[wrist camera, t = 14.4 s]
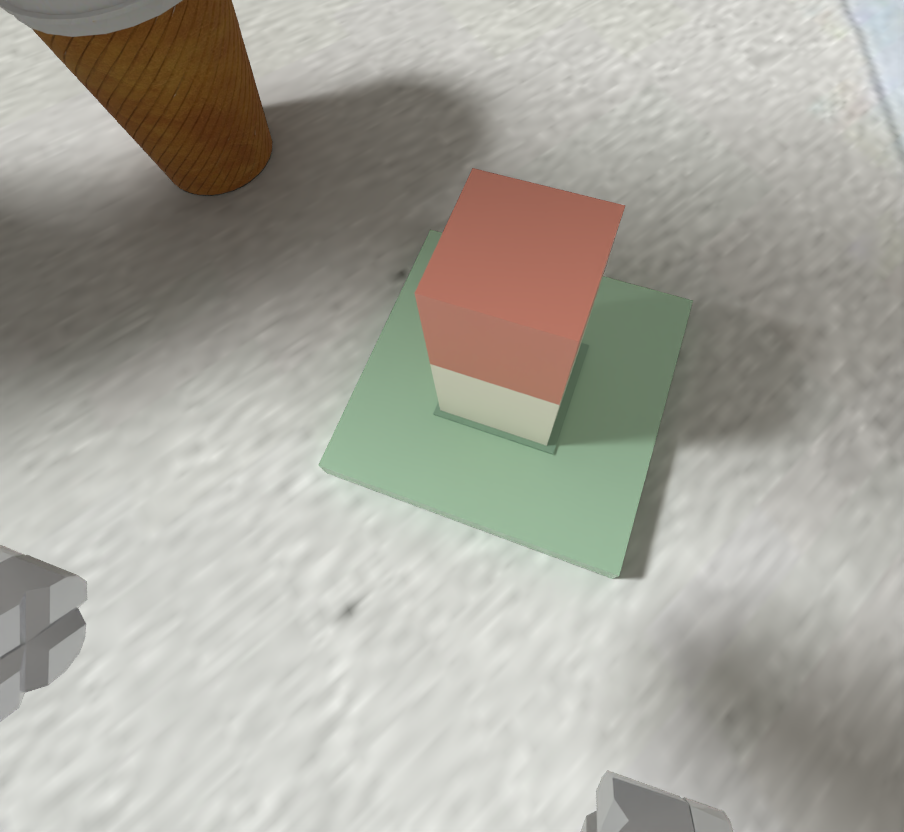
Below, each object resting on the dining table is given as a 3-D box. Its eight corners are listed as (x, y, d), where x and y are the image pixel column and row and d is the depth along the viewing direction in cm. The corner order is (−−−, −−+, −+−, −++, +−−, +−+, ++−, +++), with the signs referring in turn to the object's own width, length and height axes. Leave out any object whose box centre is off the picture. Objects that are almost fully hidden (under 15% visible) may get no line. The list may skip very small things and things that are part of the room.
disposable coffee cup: (307, 88, 34) (216, -180, 23) (292, 215, 30) (176, -28, 19) (155, 98, 34) (-8, -160, 23) (123, 223, 31) (-85, -8, 20)
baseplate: (325, 472, 25) (317, 464, 24) (432, 245, 29) (430, 227, 28) (612, 578, 22) (619, 575, 21) (684, 314, 27) (693, 299, 25)
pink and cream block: (440, 410, 24) (414, 293, 16) (477, 319, 26) (472, 168, 17) (546, 445, 23) (579, 341, 15) (579, 349, 25) (625, 205, 16)
